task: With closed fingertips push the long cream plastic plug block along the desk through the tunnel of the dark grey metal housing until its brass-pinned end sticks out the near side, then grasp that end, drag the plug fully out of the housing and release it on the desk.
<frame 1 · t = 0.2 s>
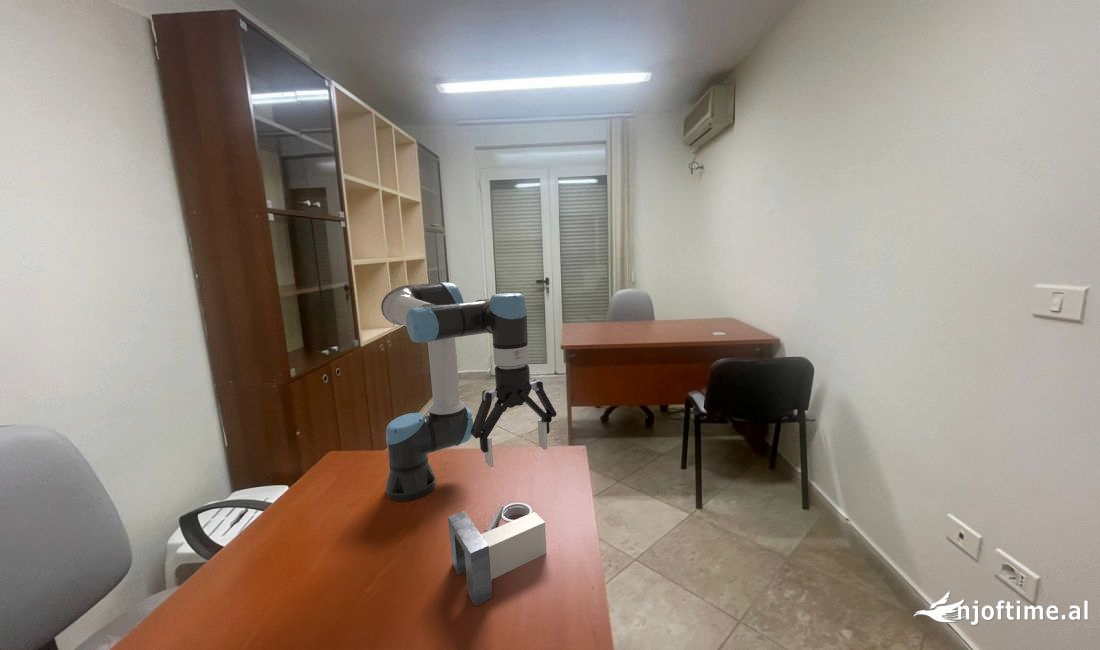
hand: (517, 455, 92), 27 cm above the table, fingers open, 13 cm apart
plug: (512, 561, 98), on the table
housing: (471, 579, 92), on the table
caliper: (494, 532, 109), on the table
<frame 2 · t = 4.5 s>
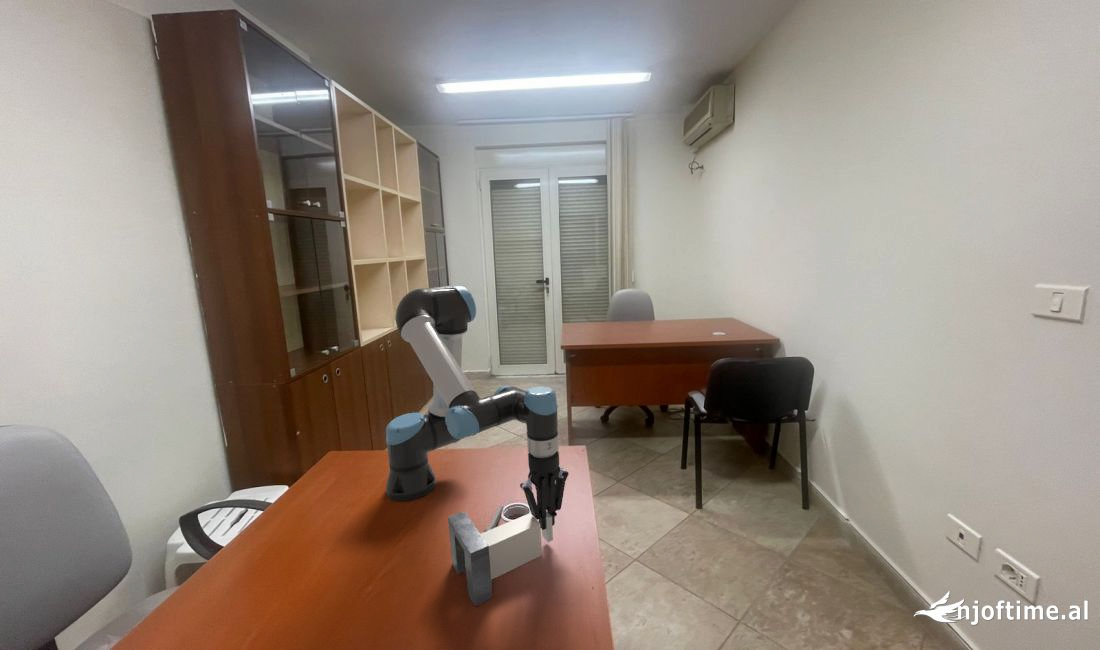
hand: (547, 538, 103), 2 cm above the table, fingers closed
plug: (507, 562, 97), on the table, touching gripper
everything else where it was.
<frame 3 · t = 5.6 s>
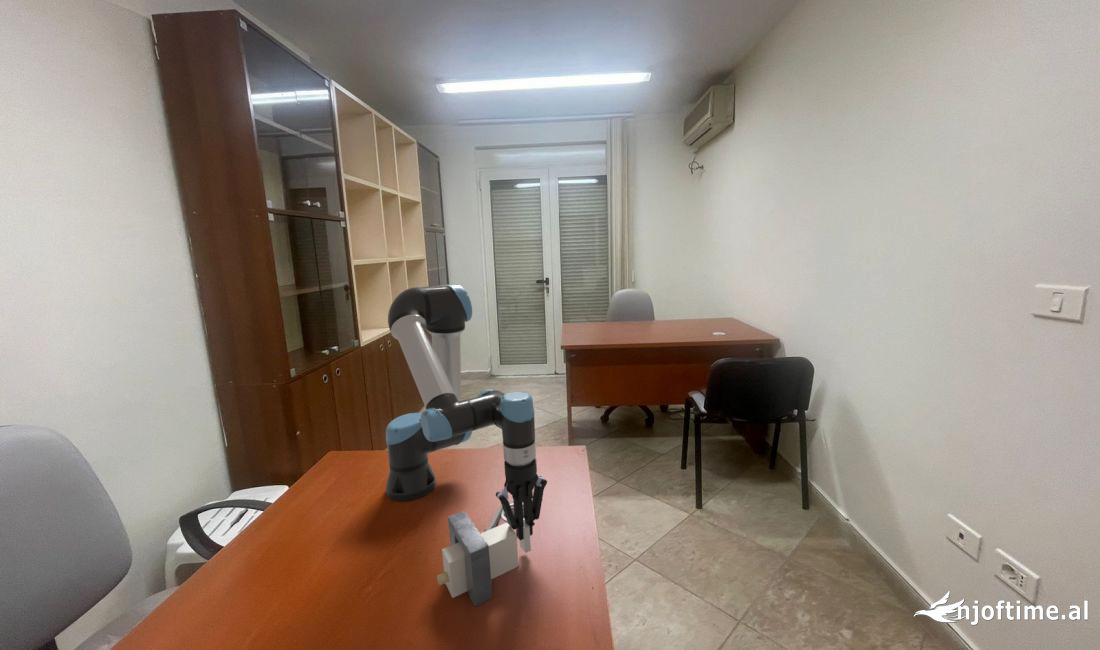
hand: (525, 548, 100), 2 cm above the table, fingers closed
plug: (482, 574, 94), on the table, touching gripper
everything else where it was.
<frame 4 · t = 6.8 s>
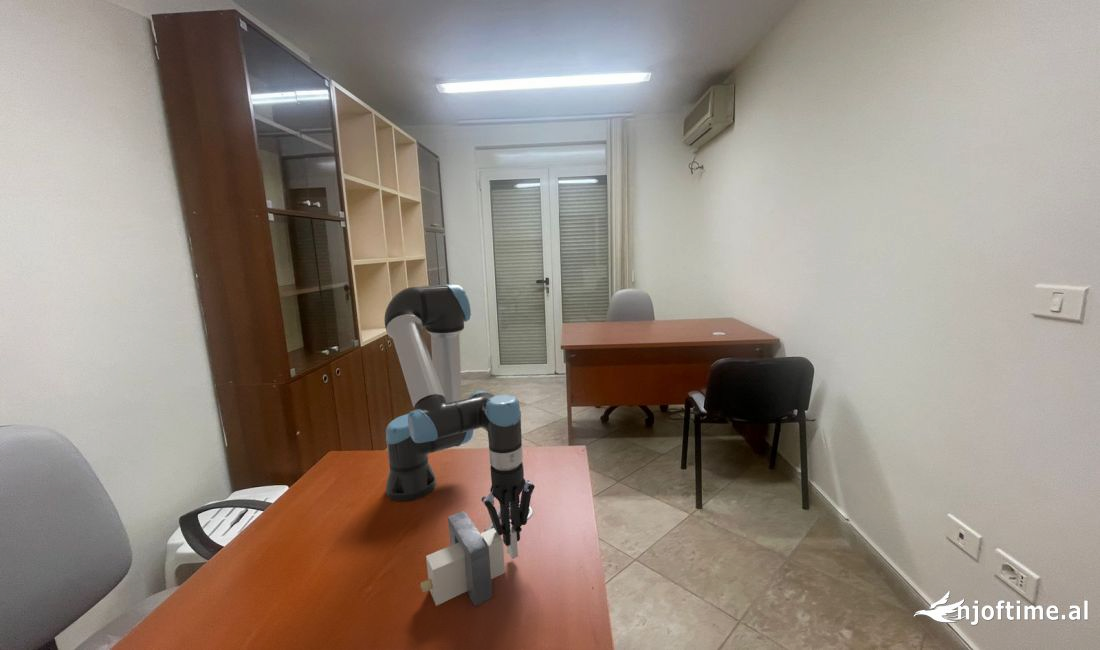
hand: (512, 554, 98), 2 cm above the table, fingers closed
plug: (468, 581, 92), on the table, touching gripper
everything else where it was.
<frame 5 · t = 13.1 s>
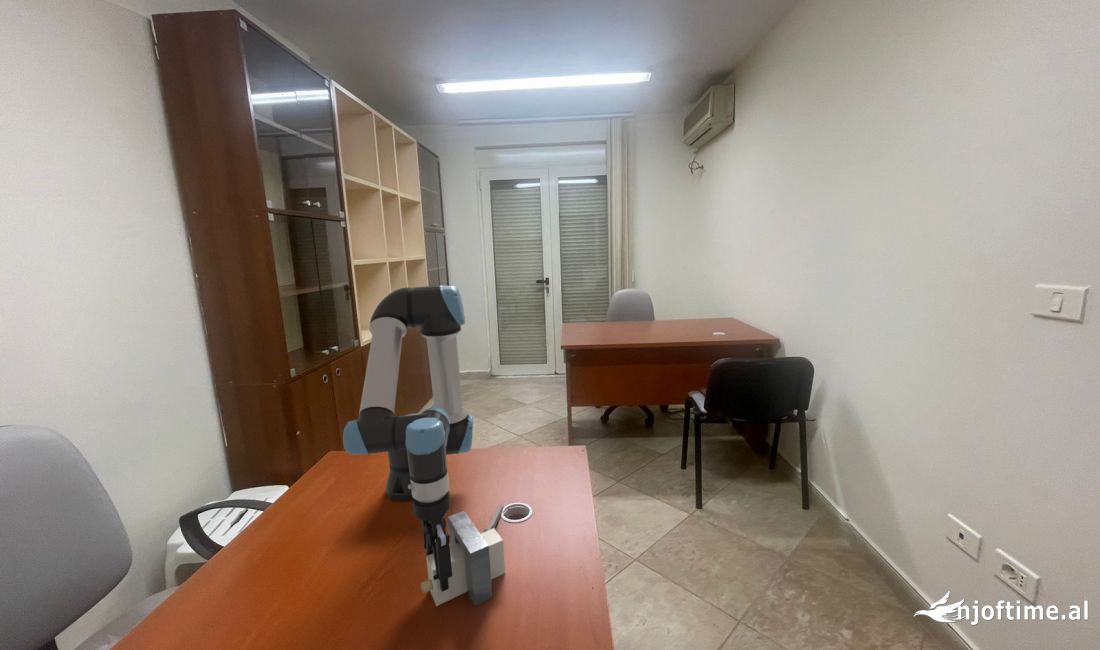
hand: (440, 591, 89), 1 cm above the table, fingers closed on plug, 5 cm apart
plug: (468, 581, 92), on the table, touching gripper
everything else where it was.
when the fingers open (1 cm above the table, at t = 16.3 s): plug stays where it is, on the table.
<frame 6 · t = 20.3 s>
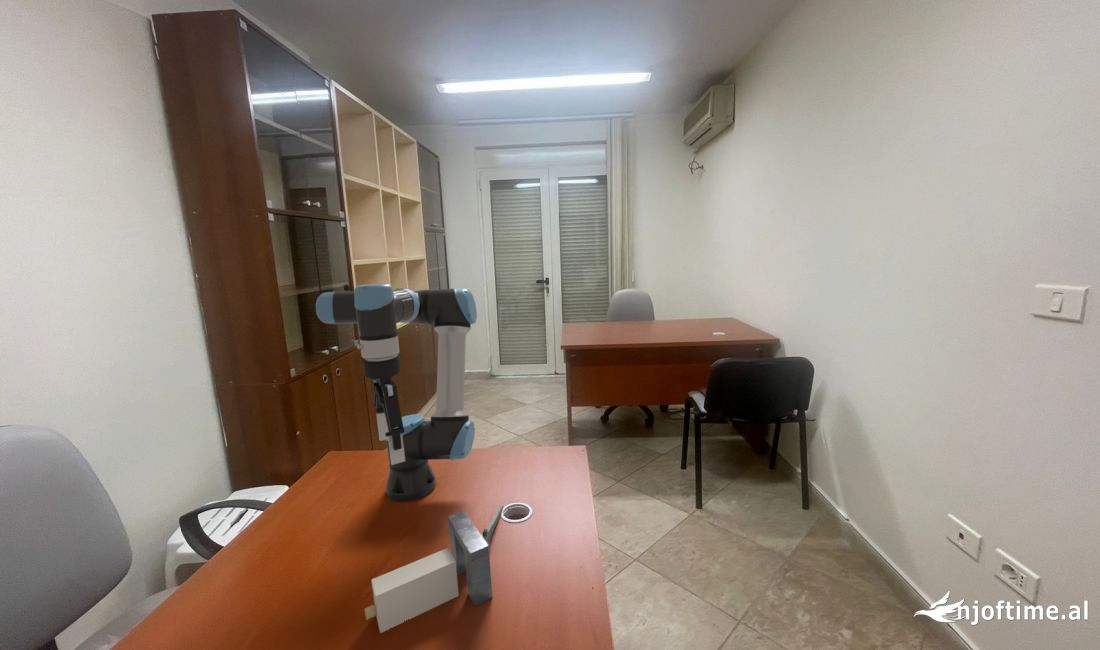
hand: (391, 450, 90), 31 cm above the table, fingers open, 13 cm apart
plug: (418, 605, 86), on the table
everything else where it was.
at the end: plug inside the target area (4.9 cm from its centre), on the table; plug touching table; the gripper is holding nothing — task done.
